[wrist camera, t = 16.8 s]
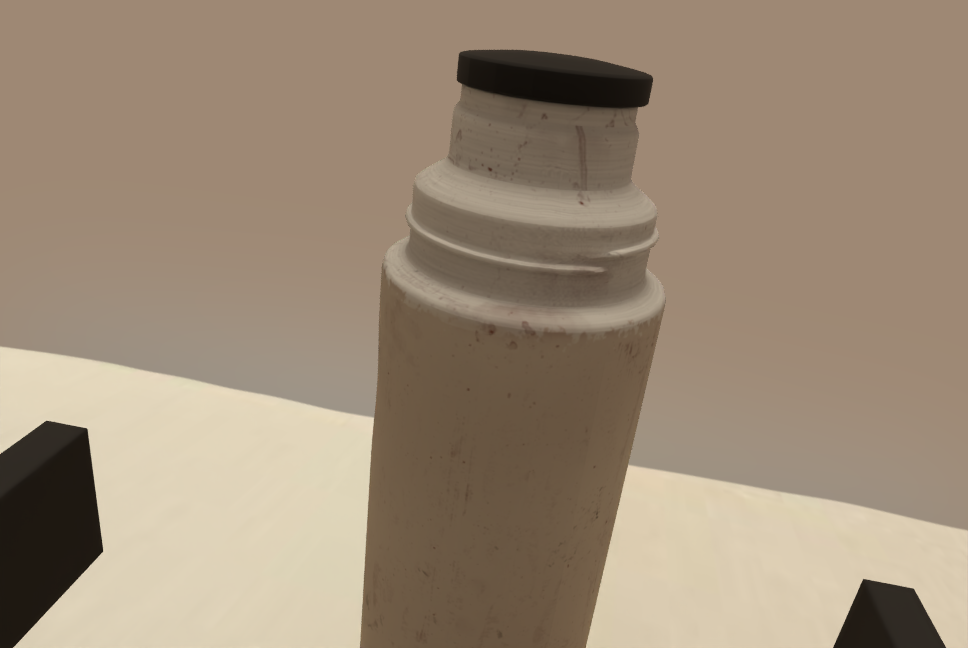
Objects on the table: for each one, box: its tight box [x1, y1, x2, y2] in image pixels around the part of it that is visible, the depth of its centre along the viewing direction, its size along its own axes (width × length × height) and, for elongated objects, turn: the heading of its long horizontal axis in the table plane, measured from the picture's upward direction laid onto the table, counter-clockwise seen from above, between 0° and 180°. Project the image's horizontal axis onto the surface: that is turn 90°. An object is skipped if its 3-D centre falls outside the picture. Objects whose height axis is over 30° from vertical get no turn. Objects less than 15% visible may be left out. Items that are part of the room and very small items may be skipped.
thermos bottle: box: [360, 50, 666, 648], centre depth 23 cm, size 8×8×28 cm
